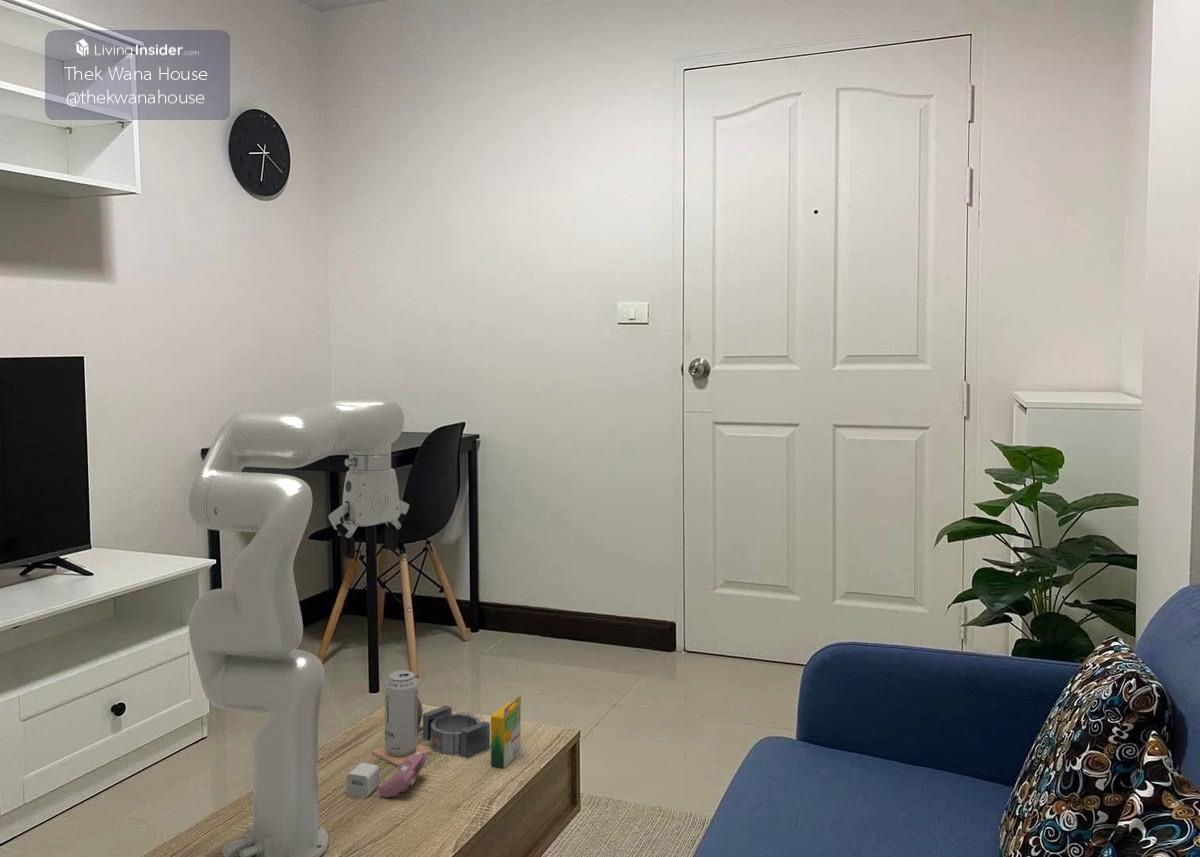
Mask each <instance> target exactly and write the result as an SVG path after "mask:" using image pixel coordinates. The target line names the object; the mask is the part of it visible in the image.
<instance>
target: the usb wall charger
mask: <svg viewBox="0 0 1200 857" xmlns="http://www.w3.org/2000/svg"><path fill="white" fill-rule="evenodd" d="M381 772H382V767H379V766H378V765H377V764H372V763H365V762H361V763H359V764H357V765H356V766H355V768H353V769H352V770H351V771H350V772H349V773H348V774H347V775H346V794H347V796H350V797H355V798H356V797H357V798H364V797H365V798H366V799H367V798H368V797H369V796H370V795H371V793H373V791H375V789H376V788H378V786H379V785H380V773H381ZM365 798H364V799H365Z"/></svg>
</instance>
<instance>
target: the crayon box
mask: <svg viewBox="0 0 1200 857" xmlns="http://www.w3.org/2000/svg"><path fill="white" fill-rule="evenodd" d="M521 696H522V695H519V696H518V697H517V698H515V699H514V700H513V701H511V702H509V701H508V702H506V704H504V705H503V706H501V707H500V708H499V709H498V710H497V711H496V712H494V713H493V714H492V715H491V717H490V766H491V767H493V766H495V767H494V768H498V767H499V768H498V769H503V768H505V767H508V765H509V764H510V763H511V762H513V761H514V760H515V759H516V758H517V757H518V756H519V755H520V754H521V751H522V750H521V749H522V748H521V726H522V725H521V716H522V714H521V713H522V712H521V704H522V698H521ZM505 769H506V768H505Z"/></svg>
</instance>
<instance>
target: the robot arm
mask: <svg viewBox="0 0 1200 857" xmlns="http://www.w3.org/2000/svg"><path fill="white" fill-rule="evenodd" d="M404 425H405V415H404V412H403V409H402V407H401V406H400V405H399V403H398V402H396V401H394V400H391V399H388V398H387V397H384V396H374V395H369V396H368V395H367V396H366V395H362V396H356V397H353V398H352V397H338V398H334V399H330V400H329V401H328V402H326V403H325V404H324V403H323V404H315V405H310V406H307V407H304V408H300V409H296V410H292V411H284V412H272V411H271V412H269V411H268V412H267V411H250V410H249V411H248V410H247V411H246V410H245V411H243V410H242V411H237V412H235V413H234V414H232V415H231V416H230V417H228V419H227V420H226V421H225V422H224V423H223V425H222V426H221V428H219V431H218V433H216V436H215V437H214V439H213V441H212V443H211V445H210V447H209V449H208V451H207V453H206V455H205V457H204V459H203V461H202V464H201V465H200V467H199V469H198V471H197V473H196V476H195V477H194V480H193V482H192V485H191V488H190V491H189V496H188V512H189V514H190V517H191V518H192V520H193V522H194V523H195V524H196V525H198V526H200V527H201V528H204V529H207V530H213V531H228V532H244V533H247V532H248V533H256V534H255V535H254V537H253V538H252V540H251V541H250V542H249V543H248V545H247V546H245V547H244V549H242V551H241V552H240V553H239V554H238V555H237V557H236V559H235V560H234V562H233V564H232V565H231V568H230V571H229V578H230V579H229V580H230V585H231V588H215V589H211V590H208V591H207V592H205V593H203V594H202V595H201V596H199V598H198V599H197V600H196V602H194V605H193V607H192V610H191V612H190V616H189V623H188V624H189V625H188V638H189V642H190V647H191V650H192V654H193V657H194V661H195V665H196V669H197V671H198V676H199V680H200V684H201V686H202V689H203V693H204V695H205V697H206V699H207V701H208V702H209V703H210V704H211V705H212V706H214V707H215V708H218V709H221V710H227V711H238V712H239V711H240V712H241V711H242V712H251V713H252V712H254V713H259V714H260V713H261V714H265V715H266V716H268V718H267V720H266V722H265V723H264V724H263V725H262V726H261V727H260V728H259V730H258V731H257V732H256V734H255V736H254V737H253V738H254V739H253V742H252V750H251V751H252V753H251V754H252V812H253V813H252V817H253V818H252V819H253V820H252V821H253V824H250V825H248V826H246V834H244V835H242V836H241V838H240V839H238V840H234V841H231V842H229V843H227V844H224V845H223V846H222V848H221V852H222V855H223V857H234V856H236V855H239V857H321V856H322V855H323V854H324V853H325V852H326V851H327V849H328V847H329V833H328V832H327V830H326V829H325V828H324V827H322V826H321V825H319V754H318V753H319V751H318V749H319V716H320V707H321V700H322V697H323V696H322V694H323V689H324V686H325V685H324V684H325V669H324V665H323V662H322V661H321V659H320V658H319V657H318V656H316V655H315V654H313V653H311V652H309V651H305V650H301V649H297V648H299V646H300V645H301V642H302V640H303V636H304V635H303V634H304V624H303V616H302V611H301V605H300V601H299V597H298V590H297V586H296V582H295V575H294V561H295V557H296V554H297V552H298V549H299V546H300V543H301V541H302V538H303V536H304V533H305V531H306V528H307V525H308V523H309V519H310V517H311V513H312V509H313V493H312V492H313V491H312V489H311V487H310V485H309V484H308V483H307V482H306V481H305V480H303V479H301V478H298V477H297V476H292V475H289V474H288V475H287V474H280V473H267V472H266V473H265V472H243V471H242V470H243V469H244V468H245V467H246V468H249V467H250V468H264V469H265V468H266V469H267V468H269V469H285V470H286V469H287V470H288V469H297V468H302V467H305V466H307V465H310V464H312V463H314V462H317V461H319V460H322V459H325V458H327V457H329V456H338V455H346V454H349V455H348V458H346V459H345V460H344V465H345V466H346V467H349V468H348V469H349V470H348V471H347V470H346V473H345V474H346V475H345V478H344V486H343V494H342V505H340V506H339V507H337V508H336V509H334V510H333V511H332V512H331V513H330V514H328V519H329V521H330V523H331V526H332V529H333V530H334V531H336V533H337V534H338V536H340V551H341V556H342V557H343V558H345V559H346V558H347V559H350V560H351V559H355V557H356V538H355V537H354V536H353V535H354V533H355V532H356V530H357V528H358V527H361V528H362V527H369V526H375V525H376V526H377V525H381V524H386V527H385V528H384V548H385V549H386V550H387V549H389V550H392V551H397V550H398V549H399V547H398V546H399V545H398V544H399V530H400V529H401V528H402V523H403V522H404V521H405V519H406V518H407V517H406V515H407V513H408V511H409V508H410V504H409V503H407V502H405V501H404V500H401V499H400V496H399V495H400V494H399V484H398V478H397V473H396V470H395V469H394V468H392V444H393V443H395V442H396V441H397V440H398V439H399V438H400V436H401V434H402V432H403V429H404ZM341 518H342V520H343V522H341Z"/></svg>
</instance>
